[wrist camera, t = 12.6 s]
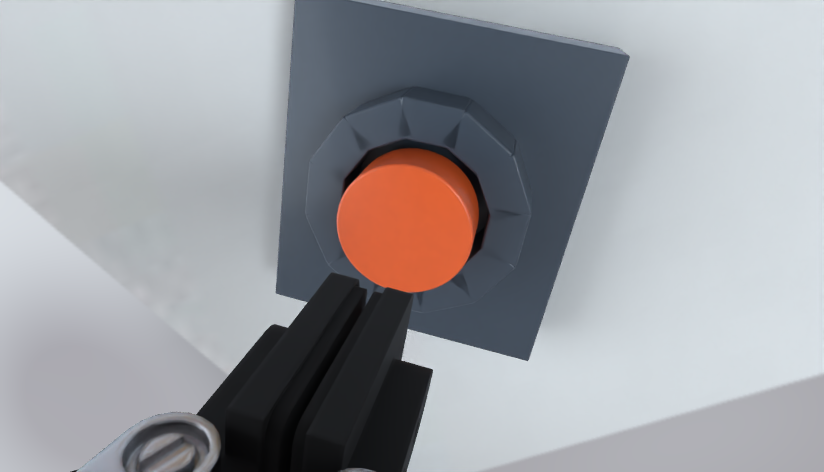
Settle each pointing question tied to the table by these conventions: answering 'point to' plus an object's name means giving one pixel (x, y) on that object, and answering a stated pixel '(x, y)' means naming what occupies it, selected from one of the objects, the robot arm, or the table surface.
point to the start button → (409, 220)
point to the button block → (445, 150)
